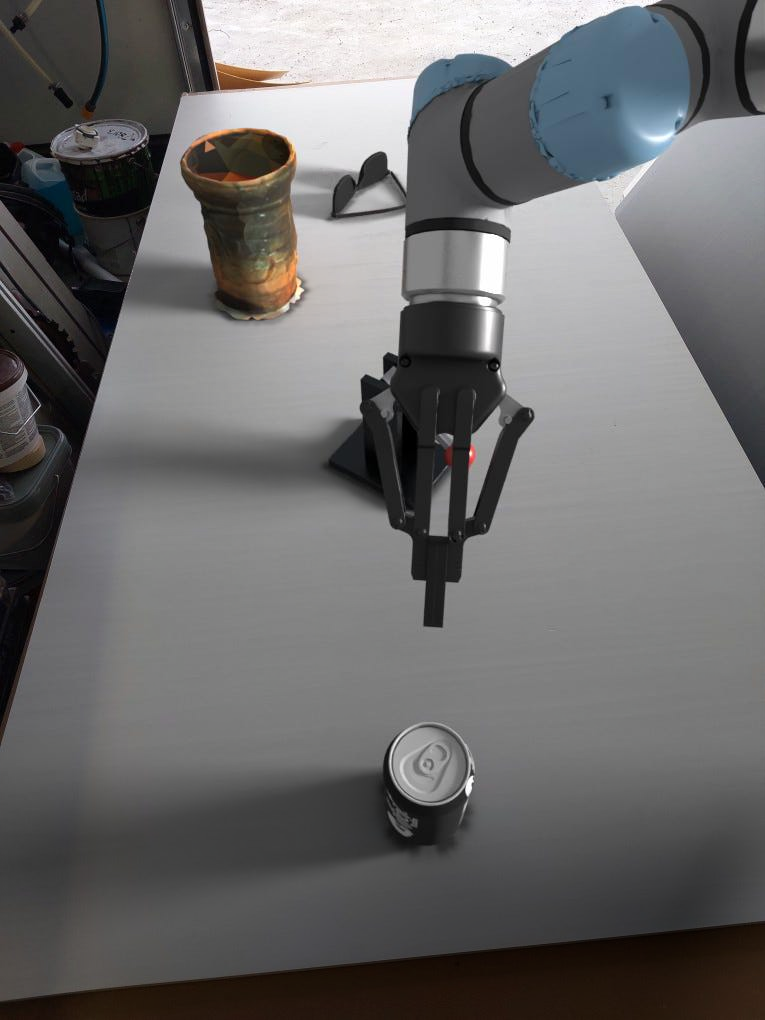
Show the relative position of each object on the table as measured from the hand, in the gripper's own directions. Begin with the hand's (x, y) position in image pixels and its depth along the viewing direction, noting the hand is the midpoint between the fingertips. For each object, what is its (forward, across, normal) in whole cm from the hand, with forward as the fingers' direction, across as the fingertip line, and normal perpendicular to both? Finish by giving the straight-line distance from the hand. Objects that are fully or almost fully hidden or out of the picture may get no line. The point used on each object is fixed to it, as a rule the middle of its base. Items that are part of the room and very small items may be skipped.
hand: (433, 621), depth 53 cm
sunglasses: (-49, +10, -68) cm, 84 cm away
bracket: (-10, +5, -29) cm, 31 cm away
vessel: (-32, +27, -51) cm, 66 cm away
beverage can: (+17, 0, -2) cm, 17 cm away
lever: (-14, +2, -22) cm, 26 cm away
